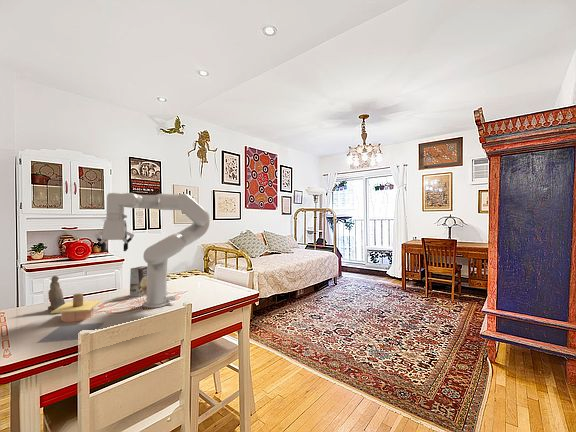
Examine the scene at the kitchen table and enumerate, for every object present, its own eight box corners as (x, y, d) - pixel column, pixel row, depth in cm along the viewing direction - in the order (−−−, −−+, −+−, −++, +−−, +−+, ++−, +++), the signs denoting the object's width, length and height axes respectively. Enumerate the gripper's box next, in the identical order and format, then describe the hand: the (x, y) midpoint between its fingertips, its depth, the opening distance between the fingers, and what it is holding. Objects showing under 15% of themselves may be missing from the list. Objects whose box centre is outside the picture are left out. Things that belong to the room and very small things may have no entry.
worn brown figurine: (47, 314, 135) (44, 277, 138) (61, 311, 140) (58, 275, 142) (54, 314, 129) (51, 275, 131) (68, 311, 133) (66, 273, 135)
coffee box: (139, 297, 159) (140, 269, 159) (129, 296, 160) (129, 268, 160) (149, 293, 168) (150, 266, 168) (140, 292, 169) (140, 266, 169)
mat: (104, 323, 119) (104, 322, 119) (88, 339, 103) (88, 338, 103) (60, 327, 114) (60, 325, 114) (36, 344, 99) (36, 342, 99)
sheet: (101, 301, 133) (102, 289, 133) (89, 310, 120) (89, 297, 120) (67, 303, 130) (67, 291, 130) (50, 313, 116) (50, 300, 116)
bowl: (96, 313, 131) (97, 302, 131) (86, 321, 121) (86, 310, 121) (69, 315, 128) (69, 304, 129) (55, 323, 118) (56, 312, 118)
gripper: (136, 217, 147) (135, 250, 147) (98, 217, 143) (98, 250, 142) (132, 217, 140) (131, 251, 140) (92, 217, 135) (91, 252, 135)
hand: (114, 251), depth 141 cm, fingers open, 9 cm apart
